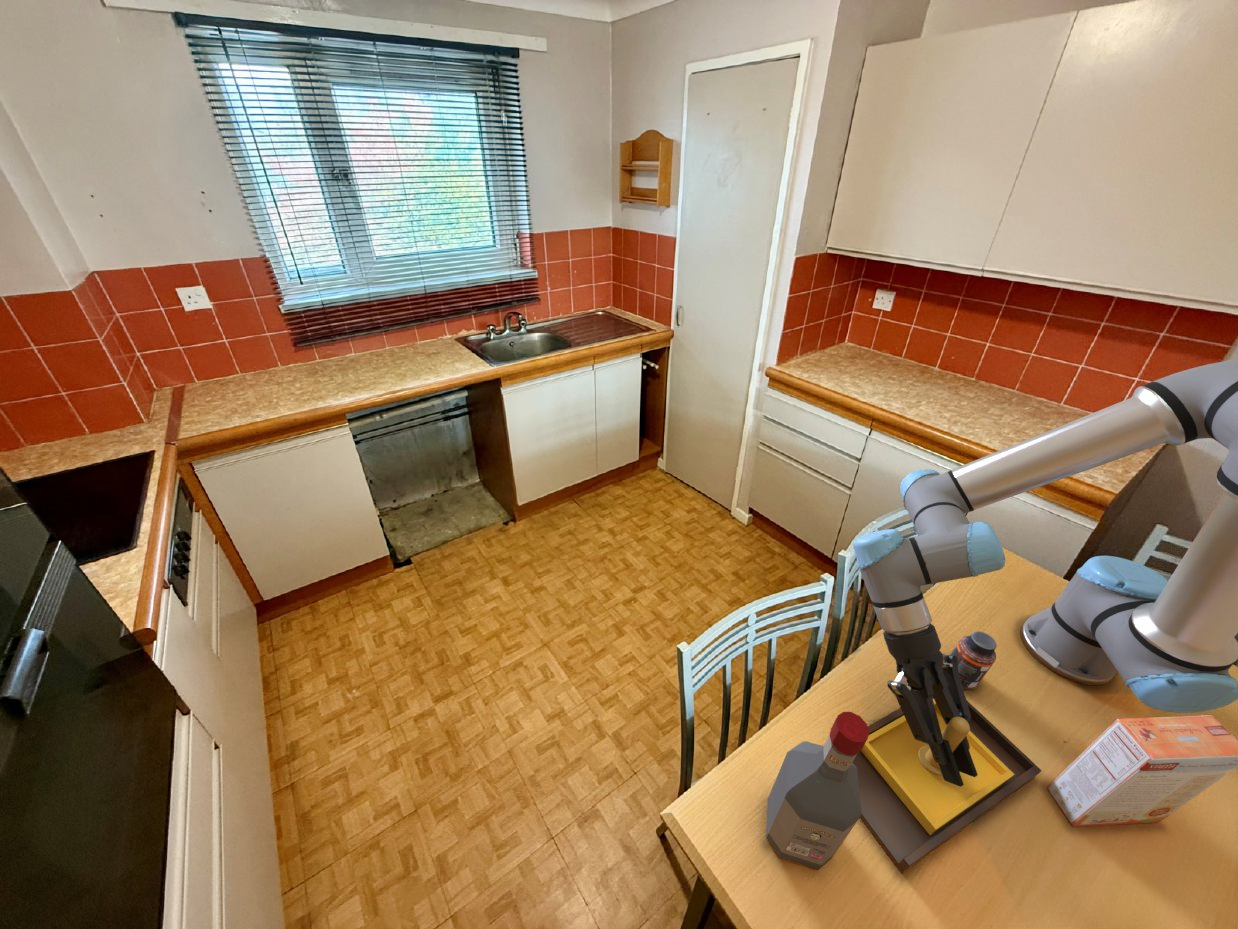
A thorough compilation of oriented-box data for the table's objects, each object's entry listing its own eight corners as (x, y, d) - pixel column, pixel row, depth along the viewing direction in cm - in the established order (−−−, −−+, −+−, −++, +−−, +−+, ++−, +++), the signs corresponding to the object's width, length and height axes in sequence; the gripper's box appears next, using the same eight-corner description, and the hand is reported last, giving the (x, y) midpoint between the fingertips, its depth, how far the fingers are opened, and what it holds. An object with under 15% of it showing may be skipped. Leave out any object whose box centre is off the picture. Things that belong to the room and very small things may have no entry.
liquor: (830, 877, 71) (901, 779, 54) (764, 855, 73) (813, 754, 56) (826, 807, 78) (888, 700, 61) (766, 789, 80) (810, 681, 63)
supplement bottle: (980, 695, 94) (1007, 659, 88) (944, 685, 96) (969, 649, 89) (973, 668, 99) (998, 631, 92) (939, 659, 100) (962, 622, 94)
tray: (931, 704, 91) (960, 661, 83) (1008, 781, 80) (1049, 739, 73) (857, 746, 85) (881, 704, 77) (930, 836, 74) (966, 797, 67)
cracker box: (1125, 782, 82) (1214, 712, 70) (1159, 825, 77) (1260, 758, 65) (1042, 784, 82) (1116, 715, 70) (1070, 828, 77) (1156, 761, 65)
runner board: (940, 691, 95) (947, 681, 93) (1032, 779, 82) (1042, 770, 80) (817, 760, 84) (822, 751, 82) (901, 874, 72) (909, 866, 70)
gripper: (920, 609, 87) (971, 748, 84) (853, 641, 81) (904, 791, 78) (961, 612, 80) (1018, 764, 77) (891, 647, 74) (949, 812, 71)
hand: (960, 777), depth 78 cm, fingers closed on tray, 2 cm apart
